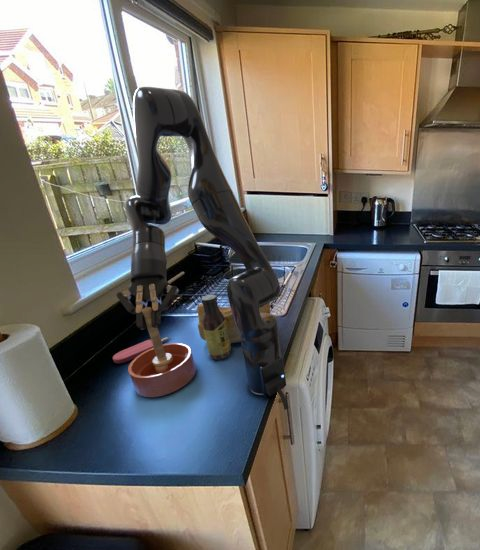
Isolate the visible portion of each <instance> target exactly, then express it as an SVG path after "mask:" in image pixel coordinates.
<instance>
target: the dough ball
mask: <svg viewBox="0 0 480 550" xmlns="http://www.w3.org/2000/svg"><path fill="white" fill-rule="evenodd" d="M167 369H168V365H166V366H163V367H155V370H156V372H158V373H163V372H165V371H166V370H167Z"/></svg>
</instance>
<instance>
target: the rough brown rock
mask: <svg viewBox="0 0 480 550" xmlns="http://www.w3.org/2000/svg"><path fill="white" fill-rule="evenodd" d="M218 307H219V310H220V312H221V313H222V314H223V316H224V317H225V320H226V325H227V330H228V335H229V340H230V344H236V343H241V340H240V334H239V330H238V328H237V326H236V324H235V322H234V319H233V314H232V311H231V307H230V306H227V307H225V306H220V305H218ZM259 311H260V312H263V313H269V314H271V302H269V303H268V304H266V305H264V306H263V307H261V308H259ZM196 312H197V319H198V322H197V323H198V324H197V329H198V333H199V337H200V338H201V339H202V340H203V341H205V342H206V338H205V334H204V329H203V323H202V318H203V315H204V313H205V312H204V307H203V304H202V303H200V304H199V305H197V306H196Z"/></svg>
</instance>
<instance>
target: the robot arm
mask: <svg viewBox="0 0 480 550" xmlns="http://www.w3.org/2000/svg"><path fill="white" fill-rule="evenodd" d="M132 111H133V123H134V133H135V134H134V135H135V143H136V152H137V160H138V162H137V163H138V165H137V166H138V168H137V177H136V188H135V191H136V194H137V195H132V196H130V197H128V199H126V202H125V206H124V208H125V209H124V210H125V213H126V216H127V219H128V221H129V223H130V227H131V231H132V250H131V253H130V254H131V256H130V284H129V286H128V287H127V289H125V290H124V291H118V292H117V293H116V295H115V296H116V297H117V299H118V300H119V302H120V303H121V304H122V305H123V307H124V309H125V310H126V311H127V312H128V313H130V314H132V315H136V317H135V318H136V320H135V326H136V327H137V328H139V329H140V330H141V331H144V330H147V325H146V322H145V319H144V316H143V313H142V309H144V308H146V307H148V302H151V308H152V311H153V312H152V327H153V328H158V329H159V326H160V325H161V324H162V315H161V313H162V312H163V311H167V310H169V309H170V308H171V306H172V305H173V303H174V302H175V300H176V297H177V296H178V295H179V293H180V289H179V288H178V287H177V286H176V285H170V284H169V282H168V281H167V279H168V278H167V262H168V260H167V252H166V236H165V235H166V233H165V231H164V230H163V229H162V228H161V227H158V226H156V225H160V226H161V225H166V224H168V223H169V222H171V220H172V217H173V214H172V213H173V211H172V207H171V203H170V199H169V195H170V189H171V185H172V181H173V180H172V179H173V178H172V177H173V176H172V170H171V167H170V165H169V164H168V163H167V161H166V159H165V158H164V156H163V155H162V154H161V152H160V149H159V148H158V147H159V146H158V144H159V140H160V138H161V137H164V138H165V137H166V138H168V137H169V138H170V137H171V138H172V137H173V138H174V137H179V138H180V137H182V138H183V140H184V142H185V143H186V146H187V148H188V151H189V154H190V159H191V167H190V173H189V178H188V186H187V195H188V200H189V202H190V204H191V206H192V208H193V210H194V213H195V214H196V216H197V218H198V220H199V222H200V224H201V225H202V226H203V228H204V229H205V230H206V231H208V232H209V234H211V235H212V236H214V237H215V238H216V239H217V240H219V241H221V242H222V243H223V244H224V245H226V246H228V247H229V248H230V249H231V250H232V251H233V252H234V253H235V254H236V255H237V257H238V258H239V259H240V261H241V263H242V264H243V266H244V268H245V270H246V271H244V272H241V273H239V274H236V275H234V276H232V277H231V278H229V280H228V281H227V283H226V285H227V286H226V294H227V299H228V303H229V307H231V311H232V314H233V319H234V322H235V324H236V326H237V328H238V330H239V334H240V340H241V342H240V343H241V345H240V346H241V350H242V355H243V360H244V361H243V362H244V366H245V371H246V377H247V382H248V388H249V392H250V393H251V394H253V395H254V396H258V397H264V398H265V399H268V398H270V397H272V396H273V395H275V394H276V393H277V394H278V395H279V397H280V399H281V402H282V406H283V409H284V411H285V410H288V409H289V405H288V400H287V398H286V396H285V394H284V392H283V391H282V390H283V389H284V388H285V387H286V386H287V379H286V373H285V364H284V357H282V349H281V340H280V334H279V326H278V319H277V318H276V316H275V315H274V314H272V313H270V314H269V313H263V312H260V311H259V308H261V307H263V306H264V305H266V304H268V303H271V302H274V300H276V299H277V298H278V297H279V296H280V294H281V285H280V282H279V279H278V276H277V274H276V272H275V270H274V268H273V266H272V265H271V263H270V262H269V260H268V258H267V256H266V255H265V253H264V251H263V250H262V248H261V247H260V245H259V243H258V242H257V241H258V240H256V238H255V235H254V234H253V232H252V230H251V227H250V225H249V224H248V221H247V220H246V218H245V215H244V214H243V211H242V208H241V205H240V204H239V202H238V200H237V198H236V194H235V193H234V191H233V189H232V187H231V185H230V183H229V182H228V180H227V177H226V175H225V173H224V171H223V169H222V167H221V165H220V163H219V160H218V158H217V155H216V152H215V150H214V149H213V148H214V147H213V146H212V143H211V140H210V138H209V135H208V132H207V128H206V126H205V124H204V121H203V119H202V115H201V113H200V110H199V109H198V106H197V104H196V103H195V101H194V99H193V98H192V97H191V96H190V94H188V93H187V92H186V91H183V90H180V89H174V88H164V87H155V86H140V87H138V88H137V89H136V90H135V92H134V95H133V101H132ZM165 293H167V294H166V295H165V296H164V294H165ZM131 295H132V296H133V297H134V298H135V306H134V304H133V303H132V301H130V300H131V298H132V296H131ZM162 296H164V298H163V300H162Z"/></svg>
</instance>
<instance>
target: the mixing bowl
mask: <svg viewBox="0 0 480 550" xmlns="http://www.w3.org/2000/svg"><path fill="white" fill-rule="evenodd" d="M163 347H164V350H165V353H170V354H172V357H173V360H172V362H171V363H169V364H168V369H167V370H166V371H165V372H163V373H158V372H156V370H155V366H154V365H153V362H152V360H153V359H154V358H155V357H156V353H155V350H154V348H151V349H149V350H147V351H145V352H143V353H142V354H140V355H139V356H137V357H136V358H134V359H132V360H131V362H130V363H129V365H128V367H127V368H128V369H127V373H128V375H129V377H130V380H131V382H132V385H133V388H134V390H135V393H136V394H137V395H139V396H141V397H145V398H157V397H162V396H166V395H169V394H171V393H174V392H176V391H178V390H181V388H183V387H185V386H186V385H187V384H189V382H191V381H192V379H193V378H194V377H195V375H196V372H197V366H196V362H195V359H194V355H193V351H192V348H191V347H190V346H189V345H188V344H185V343H181V342H170V343H164V344H163Z"/></svg>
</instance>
